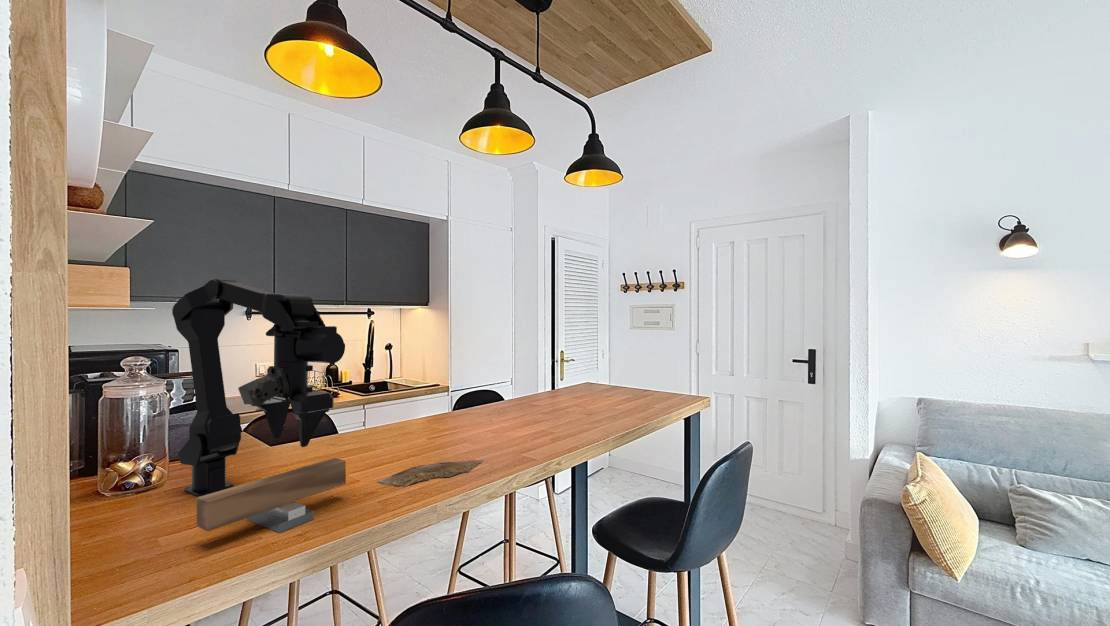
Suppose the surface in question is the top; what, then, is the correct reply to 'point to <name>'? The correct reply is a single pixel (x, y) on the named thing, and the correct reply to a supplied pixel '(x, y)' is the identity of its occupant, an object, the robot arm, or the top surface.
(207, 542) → the top surface
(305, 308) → the robot arm
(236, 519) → the walnut bar
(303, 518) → the grey flat stepped block
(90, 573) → the top surface
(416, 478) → the wooden fragment
